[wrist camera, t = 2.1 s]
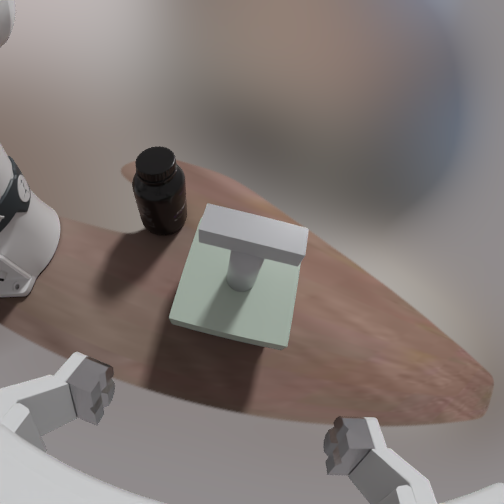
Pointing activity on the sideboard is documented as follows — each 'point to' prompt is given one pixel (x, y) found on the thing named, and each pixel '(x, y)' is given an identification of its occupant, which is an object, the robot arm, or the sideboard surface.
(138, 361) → the sideboard surface
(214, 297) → the t-shaped pedestal stand
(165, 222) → the supplement bottle
